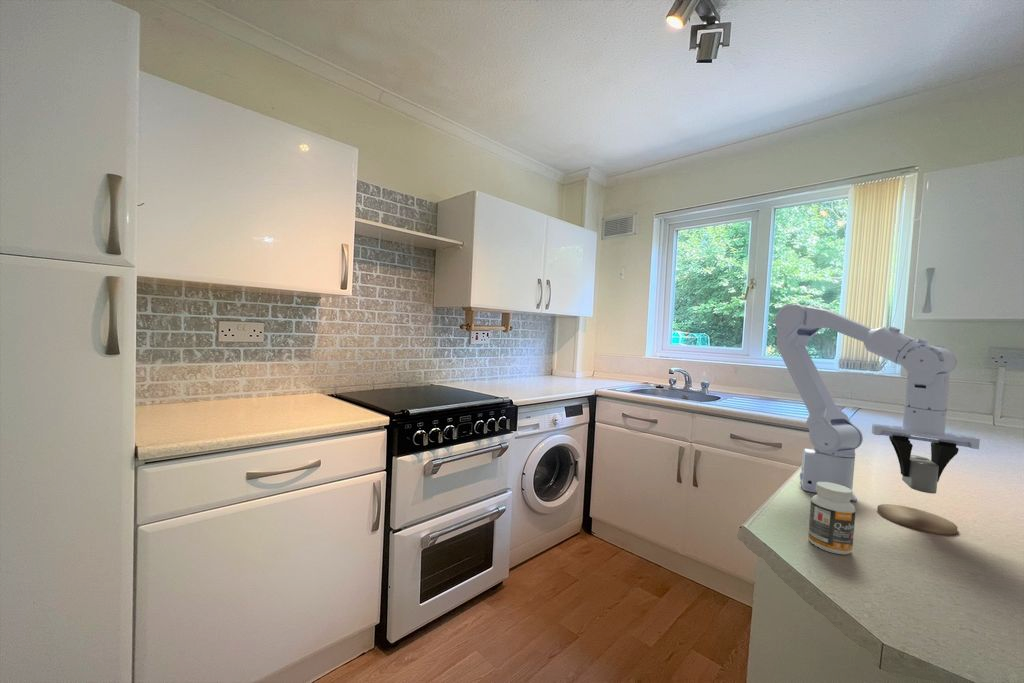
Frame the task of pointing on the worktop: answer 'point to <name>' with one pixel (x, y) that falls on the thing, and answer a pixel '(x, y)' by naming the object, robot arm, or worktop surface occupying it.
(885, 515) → the walnut coaster
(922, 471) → the grey connector plug
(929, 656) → the worktop surface
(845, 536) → the pill bottle
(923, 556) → the worktop surface
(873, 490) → the worktop surface
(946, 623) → the worktop surface
